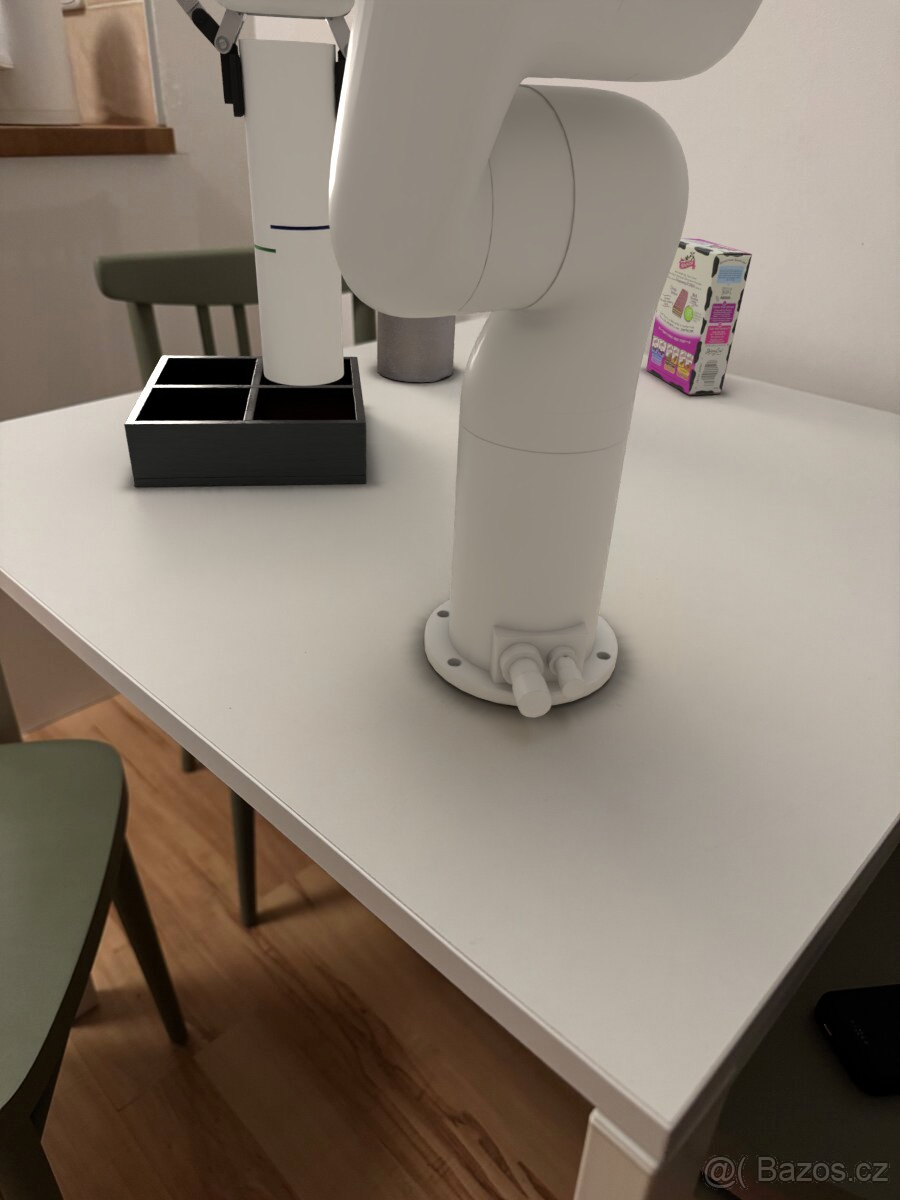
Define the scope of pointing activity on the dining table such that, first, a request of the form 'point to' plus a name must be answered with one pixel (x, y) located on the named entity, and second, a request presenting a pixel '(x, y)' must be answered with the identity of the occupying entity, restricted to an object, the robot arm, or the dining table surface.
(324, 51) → the cylindrical container
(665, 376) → the candy bar box
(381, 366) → the pillar candle
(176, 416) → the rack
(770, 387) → the dining table surface
